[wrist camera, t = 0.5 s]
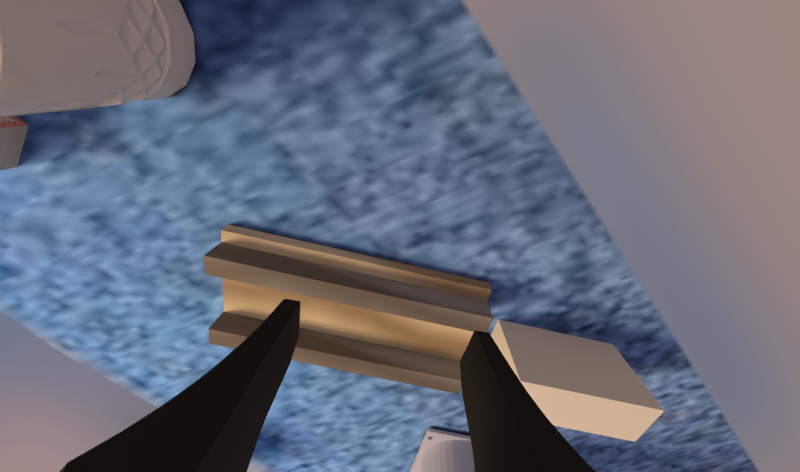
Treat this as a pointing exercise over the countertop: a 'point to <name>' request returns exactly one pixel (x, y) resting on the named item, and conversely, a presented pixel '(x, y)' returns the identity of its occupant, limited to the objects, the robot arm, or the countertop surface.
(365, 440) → the countertop surface
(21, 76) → the white cup
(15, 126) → the white red printed box
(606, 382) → the cream rectangular block
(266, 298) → the sliding track
